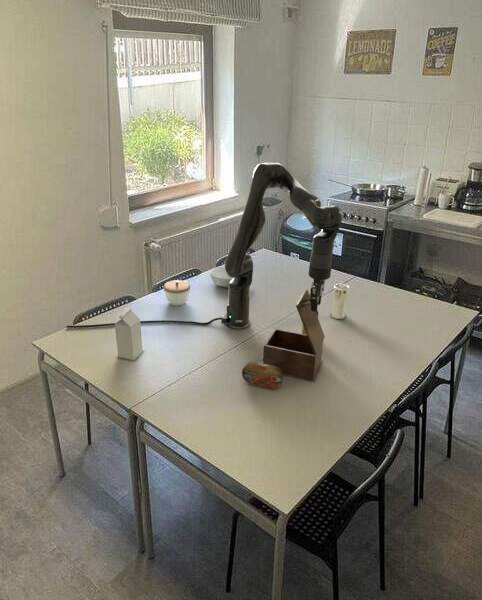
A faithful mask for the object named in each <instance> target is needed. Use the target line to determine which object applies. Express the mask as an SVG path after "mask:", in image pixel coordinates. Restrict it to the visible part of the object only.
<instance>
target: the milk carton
mask: <svg viewBox="0 0 482 600" xmlns="http://www.w3.org/2000/svg"><path fill="white" fill-rule="evenodd" d="M118 318H119V320H118V321H116V322H115V323H116V324H115V325H114V330H115V331H114V332H115V341H116V349H117V357H118V358H121V359H125V360H131V361H135V360H136V359H137V358H138V357H139V356H140V355H141V354H142V352H143V341H142V326H141V323H140V321H141V319H140V317H138V315H137V314H136V313H134V311H132V308H129V309H128V310H127V311H126V312H125V313H122V314H120V315H119V316H118Z"/></svg>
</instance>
